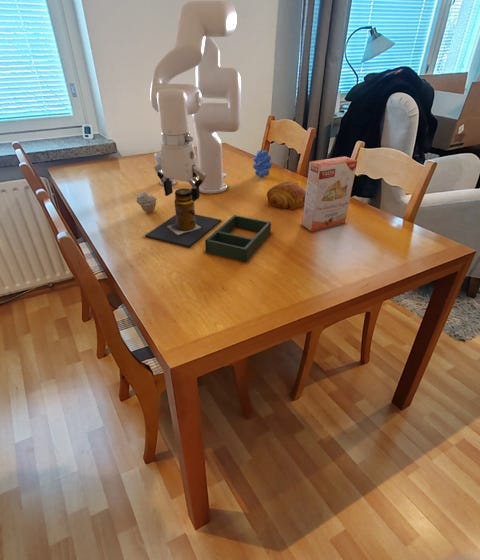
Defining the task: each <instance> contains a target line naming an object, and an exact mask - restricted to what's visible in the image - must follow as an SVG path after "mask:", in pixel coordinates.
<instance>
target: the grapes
mask: <svg viewBox="0 0 480 560" xmlns="http://www.w3.org/2000/svg"><path fill="white" fill-rule="evenodd" d="M271 159H272V156H271V155H270V154H268V151H267V150H266V149H263V150H258V151H257V153H256V155H255V156H254V157H253V162H254V163H253V165H252V168H253V170H255V172H254V173H255V175H256V176H259V178H261V179H264V178H265V176H268V175H270V169H271V168H272V167H273V166H272V164H273V163H271Z"/></svg>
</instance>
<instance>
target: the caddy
mask: <svg viewBox="0 0 480 560" xmlns="http://www.w3.org/2000/svg"><path fill="white" fill-rule="evenodd" d="M271 227H272V222H271V221H267V220H261V219H256V218H251V217H246V216H241V215H237V214H234V215H232V216H231V217H230V218H229V219H228V220H227V221H225V222H224V223H223V224H222V225H221V226H220V227H218V228H217V229H216V230H215V231H214V232H213V233H211V234H210V235H209V236H208V237H207V238H206V239H205V240H204V245H205V253H207V254H210V255H214V256H217V257H218V256H219V257H223V258H227V259H231V260H235V261H238V262H239V261H240V262H244V263H247V261H248V260H249V259H250V258H251V257H252V256H253V254H254V253H255V252H256V251H257V250H258V249H259V247H260V246H261V245H262V244H263V243H264V241H265V240H267V239H268V237H269V236H270V235H271V229H272V228H271ZM235 228H237V229H240V230H246V231H250V232H255V233H256V234H255V236H253V238H251V237H247V236H244V235H243V236H242V235H238V234H233V233H232V232H233V231H234V230H235Z"/></svg>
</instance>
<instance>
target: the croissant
mask: <svg viewBox="0 0 480 560" xmlns="http://www.w3.org/2000/svg"><path fill="white" fill-rule="evenodd" d="M305 195H306V189H305V188H303V187H302V186H300V185H299V184H298V183H296V182H292V181H283V182H279V183H277V184H275V185H274V186H272V187H271V188H269V189H268V190H267V192H266V197H267V202H268V204H269V205H270V206H273V207H274V208H275V207H276V208H281V209H282V208H283V209H288V210H294V209H297V208H300V207H302V206H304V203H305Z"/></svg>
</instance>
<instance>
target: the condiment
mask: <svg viewBox="0 0 480 560" xmlns="http://www.w3.org/2000/svg"><path fill="white" fill-rule="evenodd" d="M174 195H175V196H174V198H175V199H174V211H175V215H176V220H177V223H176V224H173V225H169V226H167V227H168V228H170V229H171V230H172V231H173V232H175V233H176V234H177V235H179V234H183V233H186V232H189V231H193V230H196V229H199V228H201V227H200V226H198V225H197V224H196V218H195V215H196V209H195V207H196V205H195V201H192V194H191V189H190V188H178V189H176V190H175V191H174Z"/></svg>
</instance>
